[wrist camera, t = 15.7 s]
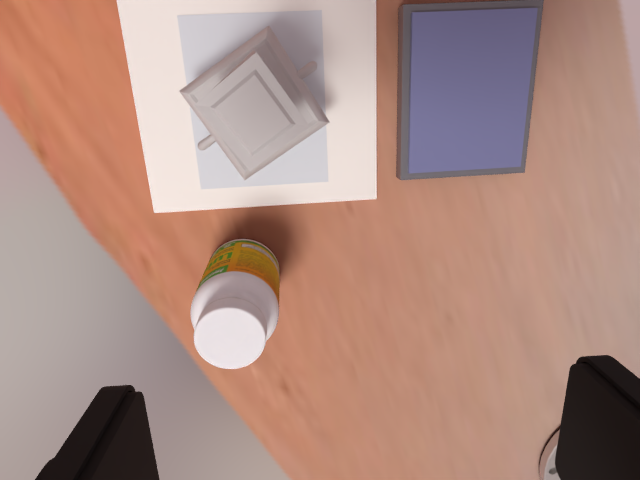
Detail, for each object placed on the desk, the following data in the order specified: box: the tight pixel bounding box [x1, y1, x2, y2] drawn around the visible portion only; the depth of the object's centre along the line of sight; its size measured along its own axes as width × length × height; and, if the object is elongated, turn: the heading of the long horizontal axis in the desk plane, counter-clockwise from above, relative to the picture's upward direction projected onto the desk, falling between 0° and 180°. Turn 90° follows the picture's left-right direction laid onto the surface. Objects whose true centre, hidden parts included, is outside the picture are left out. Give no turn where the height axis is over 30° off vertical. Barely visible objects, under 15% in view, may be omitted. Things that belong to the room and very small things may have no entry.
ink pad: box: [396, 0, 544, 180], centre depth 30 cm, size 9×11×2 cm
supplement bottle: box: [191, 239, 280, 369], centre depth 29 cm, size 5×5×10 cm
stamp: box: [179, 26, 329, 180], centre depth 25 cm, size 9×7×8 cm
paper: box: [117, 0, 377, 213], centre depth 29 cm, size 16×14×1 cm
